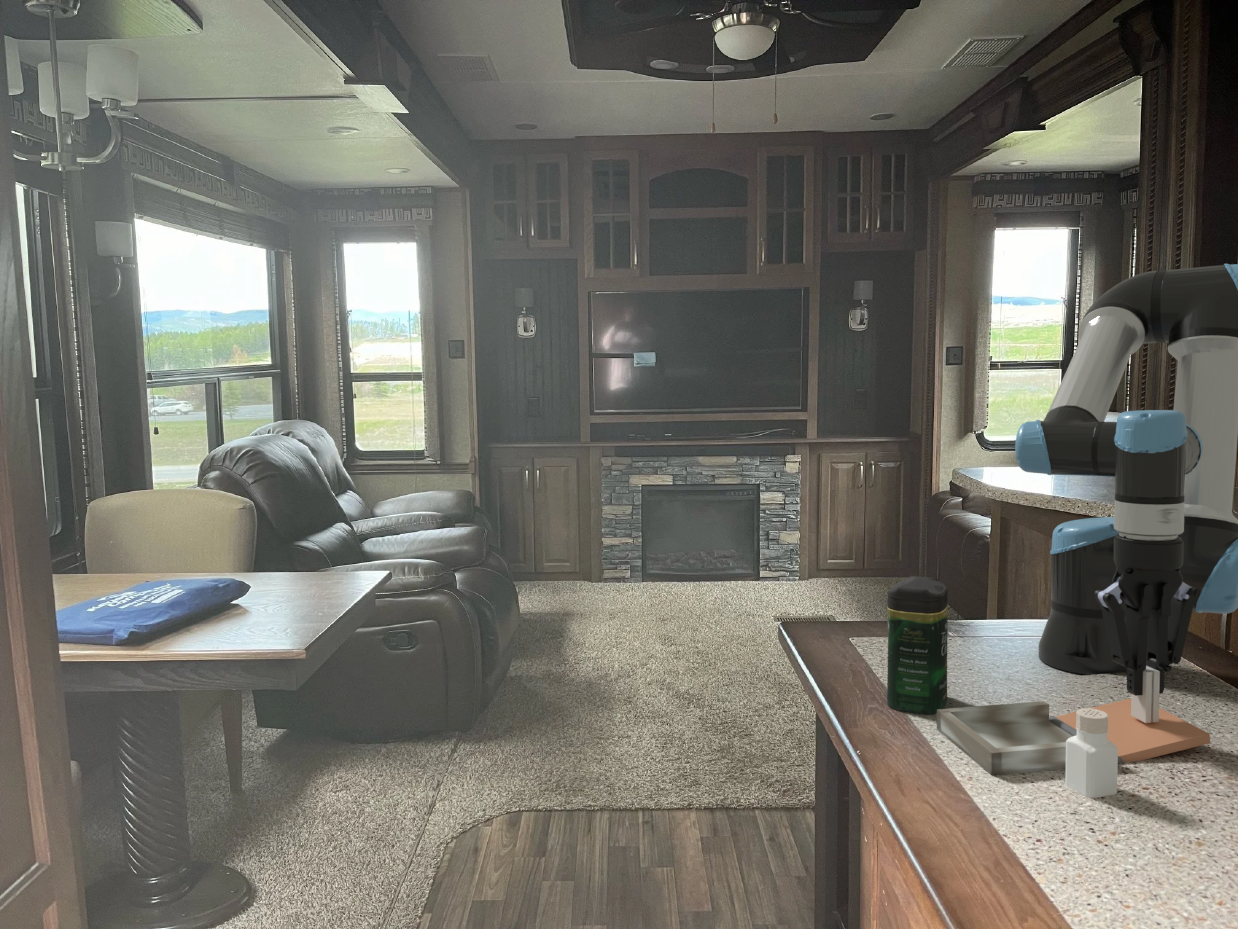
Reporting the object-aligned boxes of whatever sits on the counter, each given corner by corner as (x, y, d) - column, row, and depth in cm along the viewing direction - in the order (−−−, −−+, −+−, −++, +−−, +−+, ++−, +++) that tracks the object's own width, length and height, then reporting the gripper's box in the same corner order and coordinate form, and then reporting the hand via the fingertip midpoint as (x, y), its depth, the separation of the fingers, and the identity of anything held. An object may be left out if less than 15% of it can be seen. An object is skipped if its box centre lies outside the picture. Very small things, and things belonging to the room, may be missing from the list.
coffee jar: (940, 723, 124) (940, 589, 122) (881, 714, 128) (880, 584, 126) (953, 700, 132) (953, 574, 130) (897, 692, 136) (896, 570, 134)
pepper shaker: (1089, 805, 99) (1091, 722, 99) (1062, 790, 103) (1063, 709, 102) (1119, 800, 101) (1121, 717, 100) (1091, 784, 104) (1093, 704, 103)
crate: (1043, 726, 121) (1044, 701, 121) (1111, 771, 108) (1112, 742, 107) (936, 735, 120) (936, 709, 119) (991, 782, 106) (991, 753, 106)
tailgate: (1048, 727, 121) (1137, 705, 122) (1112, 769, 108) (1211, 744, 109) (1046, 717, 121) (1136, 695, 122) (1111, 758, 108) (1210, 733, 109)
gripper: (1118, 542, 108) (1115, 734, 111) (1220, 536, 110) (1215, 725, 112) (1079, 532, 116) (1077, 712, 118) (1176, 527, 117) (1172, 704, 119)
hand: (1144, 718), depth 115 cm, fingers closed
